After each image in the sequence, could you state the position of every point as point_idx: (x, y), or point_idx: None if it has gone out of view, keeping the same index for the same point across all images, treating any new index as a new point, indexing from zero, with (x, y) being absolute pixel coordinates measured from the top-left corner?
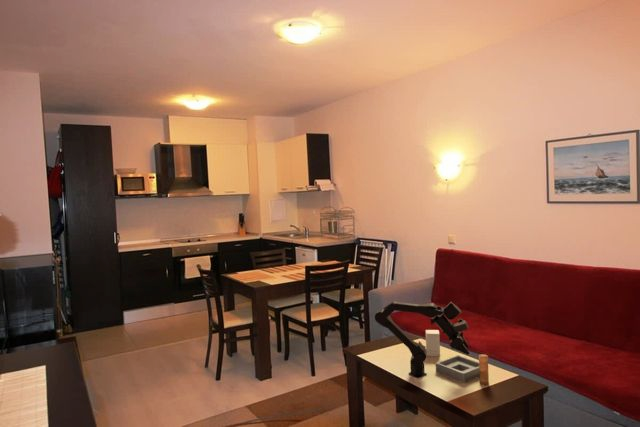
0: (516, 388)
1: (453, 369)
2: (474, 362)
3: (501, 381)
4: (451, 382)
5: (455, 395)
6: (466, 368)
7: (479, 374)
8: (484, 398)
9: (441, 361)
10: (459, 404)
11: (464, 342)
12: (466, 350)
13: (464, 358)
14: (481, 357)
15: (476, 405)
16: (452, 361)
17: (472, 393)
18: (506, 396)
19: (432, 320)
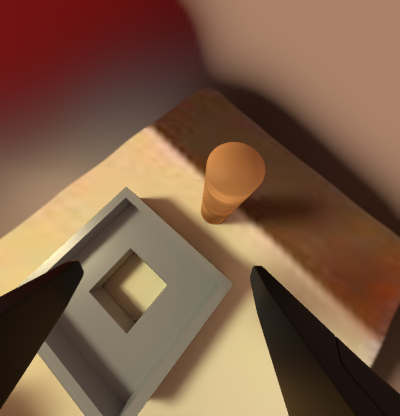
0: (230, 136)
1: (193, 332)
2: (95, 228)
3: (192, 164)
4: (228, 323)
5: (328, 310)
6: (119, 262)
7: (220, 219)
8: (316, 220)
9: (87, 407)
10: (386, 298)
11: (16, 325)
12: (297, 306)
13: (49, 269)
14: (261, 181)
15: (369, 246)
16: (57, 326)
17: (295, 252)
18: (284, 164)
19: None
